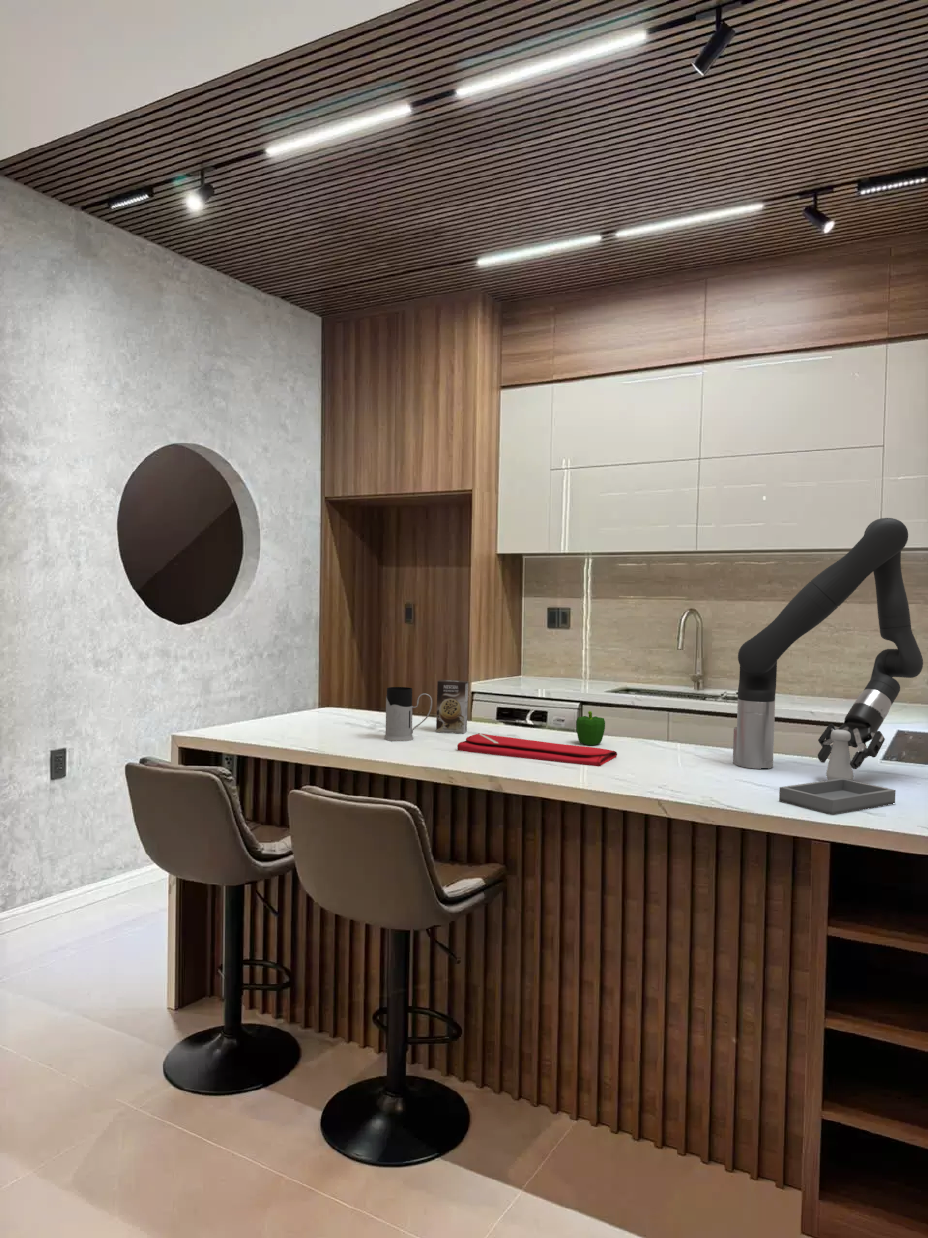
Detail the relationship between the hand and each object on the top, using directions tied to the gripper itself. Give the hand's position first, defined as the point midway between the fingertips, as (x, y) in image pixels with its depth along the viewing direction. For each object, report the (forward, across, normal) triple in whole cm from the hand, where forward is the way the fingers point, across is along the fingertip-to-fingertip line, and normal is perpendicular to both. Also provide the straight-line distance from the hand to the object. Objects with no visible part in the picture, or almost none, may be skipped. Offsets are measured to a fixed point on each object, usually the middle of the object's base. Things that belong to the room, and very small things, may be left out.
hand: (836, 763), depth 201 cm
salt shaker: (+3, 0, +5) cm, 6 cm away
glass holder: (+48, -98, -41) cm, 116 cm away
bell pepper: (+16, -69, -9) cm, 71 cm away
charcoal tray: (+14, +11, -7) cm, 19 cm away
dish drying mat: (+33, -63, -25) cm, 76 cm away
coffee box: (+35, -105, -27) cm, 114 cm away
